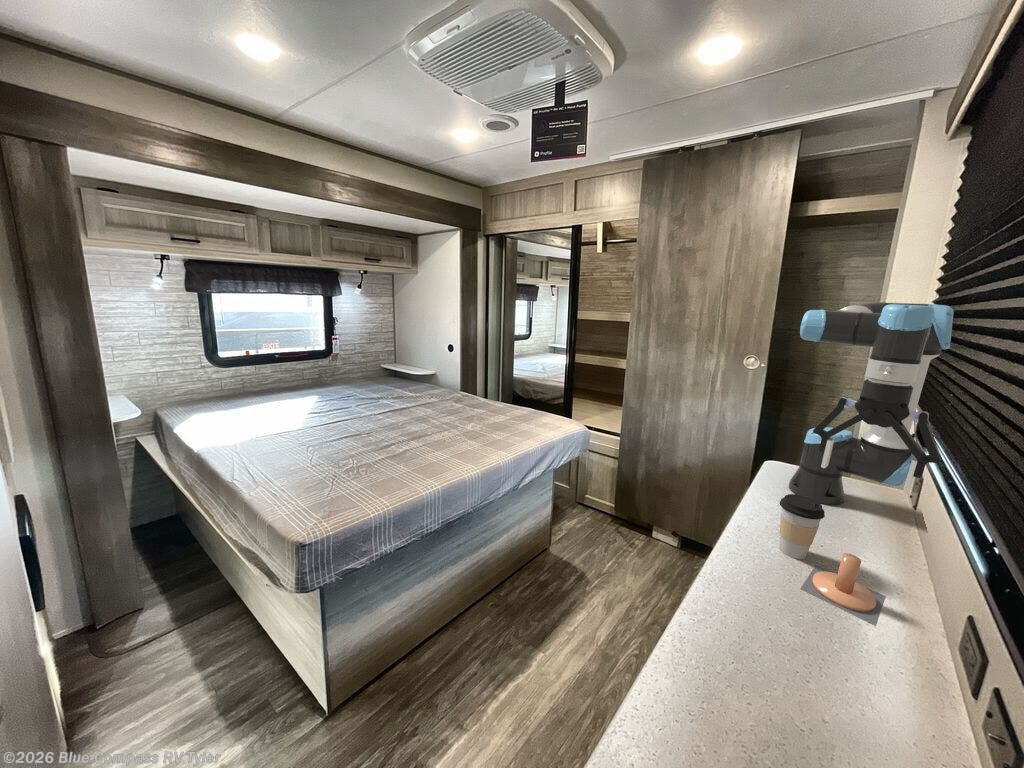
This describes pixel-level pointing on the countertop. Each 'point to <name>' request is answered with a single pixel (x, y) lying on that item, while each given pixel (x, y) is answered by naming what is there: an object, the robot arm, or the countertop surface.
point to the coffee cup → (798, 524)
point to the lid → (845, 586)
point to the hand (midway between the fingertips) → (862, 477)
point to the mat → (866, 616)
